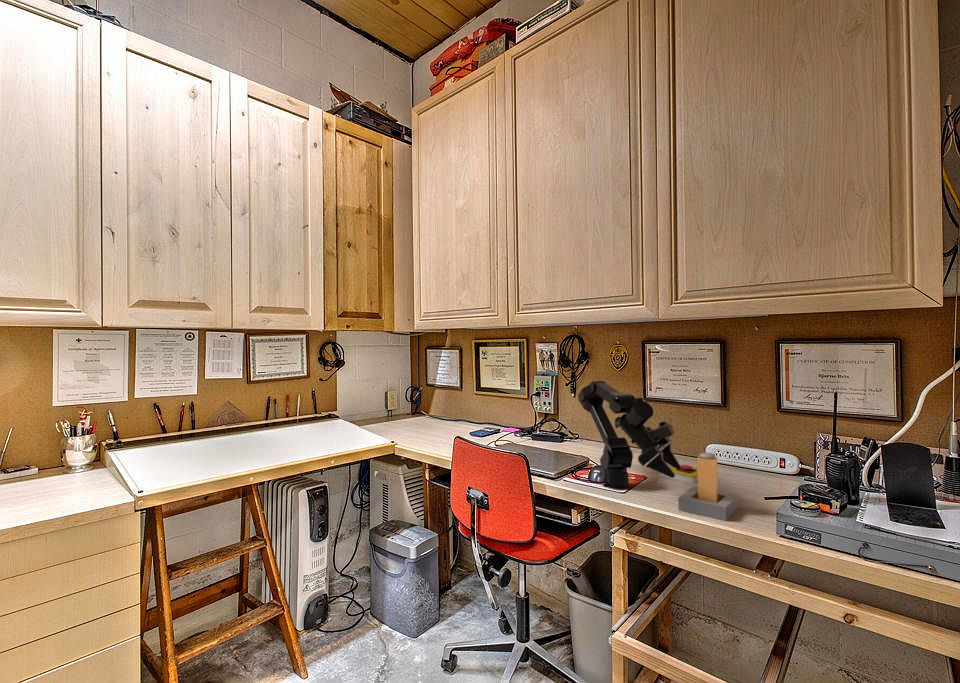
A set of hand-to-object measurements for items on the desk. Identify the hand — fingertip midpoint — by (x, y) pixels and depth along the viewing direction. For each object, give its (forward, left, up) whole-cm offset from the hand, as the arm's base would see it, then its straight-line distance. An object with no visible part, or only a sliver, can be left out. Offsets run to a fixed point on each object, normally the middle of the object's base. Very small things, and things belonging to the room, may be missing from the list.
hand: (677, 472), depth 131 cm
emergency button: (-8, +26, -10) cm, 29 cm away
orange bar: (+8, +1, -8) cm, 11 cm away
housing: (+8, +1, -9) cm, 12 cm away
